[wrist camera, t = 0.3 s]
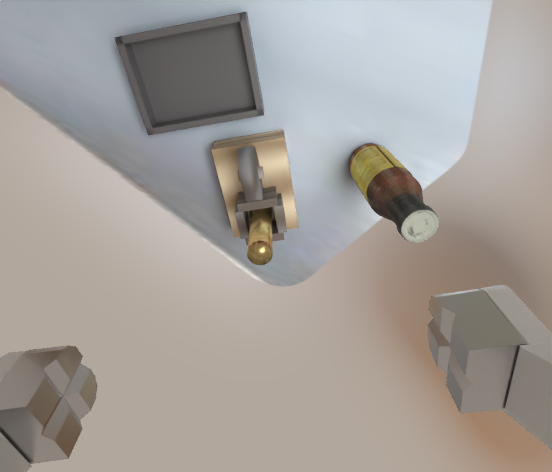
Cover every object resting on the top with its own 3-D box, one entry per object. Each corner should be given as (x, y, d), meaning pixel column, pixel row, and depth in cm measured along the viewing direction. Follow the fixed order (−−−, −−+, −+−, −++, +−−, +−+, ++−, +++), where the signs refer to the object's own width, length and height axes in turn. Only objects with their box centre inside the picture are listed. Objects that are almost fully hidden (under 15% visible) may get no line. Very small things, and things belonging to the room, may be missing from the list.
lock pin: (249, 202, 54) (245, 246, 43) (269, 198, 54) (270, 242, 43) (253, 219, 55) (250, 266, 45) (273, 216, 55) (274, 263, 45)
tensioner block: (213, 137, 53) (202, 164, 43) (282, 125, 52) (286, 150, 43) (236, 224, 60) (230, 263, 51) (296, 215, 60) (302, 252, 50)
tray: (155, 128, 52) (148, 135, 49) (124, 36, 46) (114, 37, 43) (264, 109, 51) (263, 115, 48) (247, 12, 45) (245, 12, 42)
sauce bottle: (344, 180, 57) (377, 251, 40) (352, 139, 53) (391, 198, 36) (386, 182, 57) (436, 254, 40) (396, 143, 54) (456, 202, 37)
